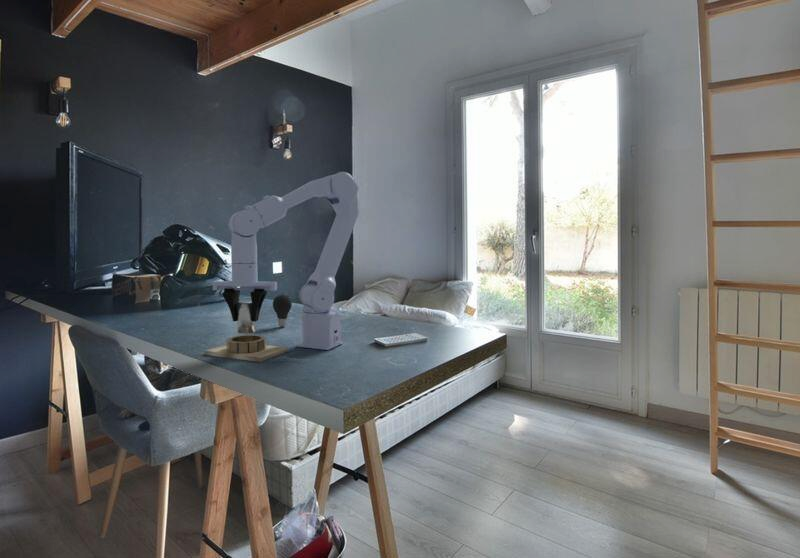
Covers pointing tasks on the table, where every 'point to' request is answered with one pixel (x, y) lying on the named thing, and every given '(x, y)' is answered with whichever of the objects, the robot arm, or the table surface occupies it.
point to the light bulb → (282, 308)
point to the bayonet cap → (245, 317)
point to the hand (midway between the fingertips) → (245, 320)
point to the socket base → (247, 356)
